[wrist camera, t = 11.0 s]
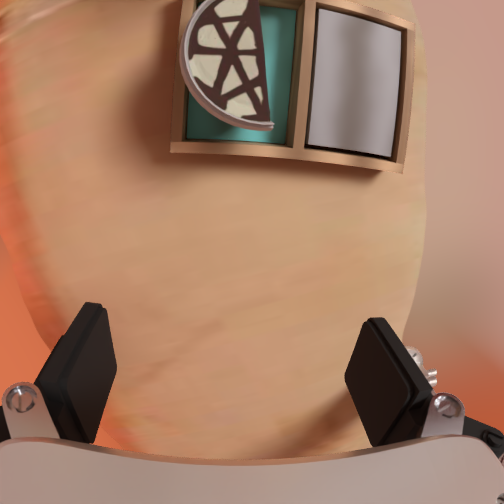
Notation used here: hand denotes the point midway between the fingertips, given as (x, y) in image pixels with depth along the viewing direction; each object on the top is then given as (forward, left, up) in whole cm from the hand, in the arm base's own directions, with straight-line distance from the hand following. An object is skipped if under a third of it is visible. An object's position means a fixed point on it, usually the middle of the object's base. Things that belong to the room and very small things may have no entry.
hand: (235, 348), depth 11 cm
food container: (+1, -12, -23) cm, 27 cm away
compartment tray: (-6, -13, -23) cm, 27 cm away
